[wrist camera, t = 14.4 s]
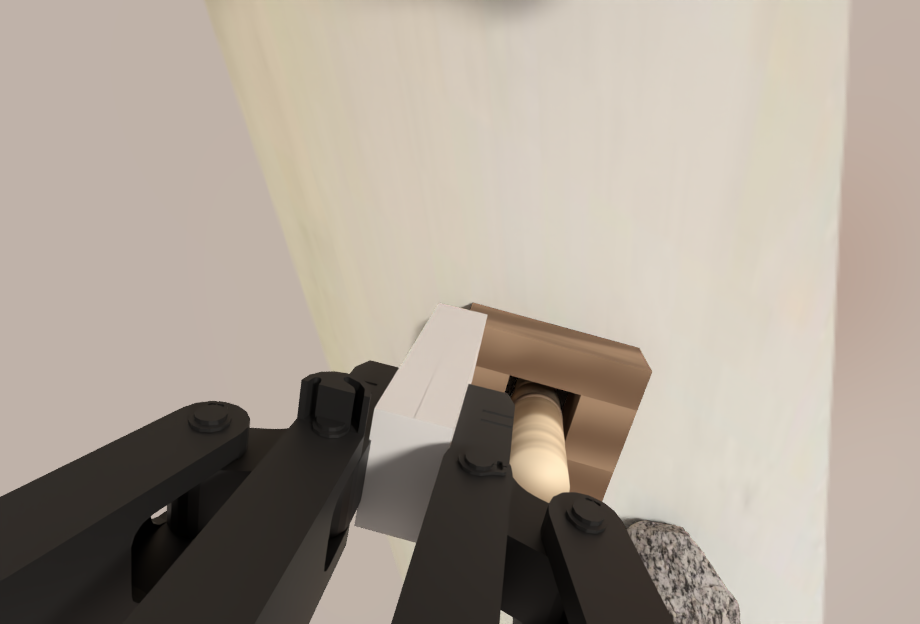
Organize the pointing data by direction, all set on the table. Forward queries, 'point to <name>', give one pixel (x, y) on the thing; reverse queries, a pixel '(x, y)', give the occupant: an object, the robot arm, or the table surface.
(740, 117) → the table surface
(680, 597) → the rock
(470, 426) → the robot arm
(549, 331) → the board
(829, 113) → the table surface
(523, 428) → the peg
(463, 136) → the table surface
